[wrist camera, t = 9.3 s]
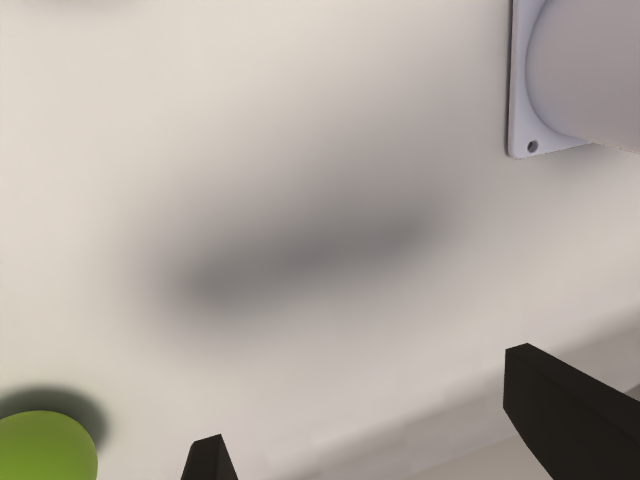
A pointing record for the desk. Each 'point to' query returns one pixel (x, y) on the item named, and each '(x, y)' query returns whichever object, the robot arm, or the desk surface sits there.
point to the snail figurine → (45, 448)
